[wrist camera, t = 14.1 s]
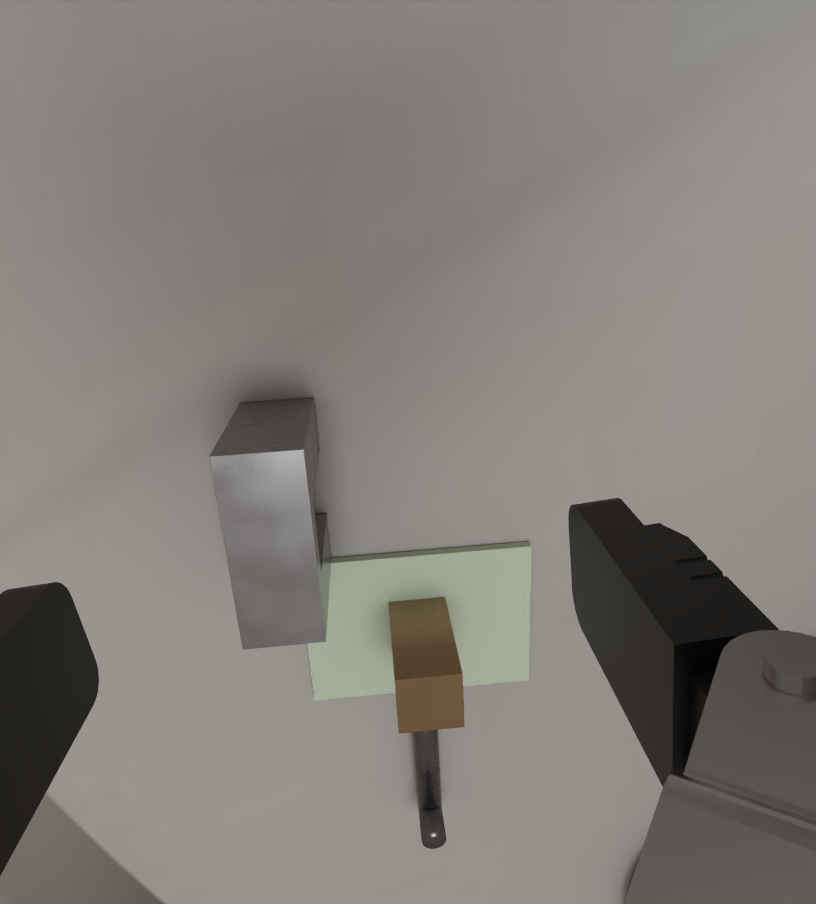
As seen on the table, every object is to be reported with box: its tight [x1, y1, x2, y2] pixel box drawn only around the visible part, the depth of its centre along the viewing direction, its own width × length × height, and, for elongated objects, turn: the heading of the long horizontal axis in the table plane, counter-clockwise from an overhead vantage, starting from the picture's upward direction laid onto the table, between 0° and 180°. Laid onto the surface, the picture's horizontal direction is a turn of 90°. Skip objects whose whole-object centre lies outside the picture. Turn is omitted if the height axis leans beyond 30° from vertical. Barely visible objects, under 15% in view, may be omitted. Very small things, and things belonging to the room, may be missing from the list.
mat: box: [307, 541, 531, 700], centre depth 41 cm, size 14×10×1 cm
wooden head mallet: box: [388, 597, 464, 849], centre depth 40 cm, size 17×4×7 cm, turn 3°
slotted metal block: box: [209, 398, 331, 649], centre depth 33 cm, size 4×10×8 cm, turn 3°
